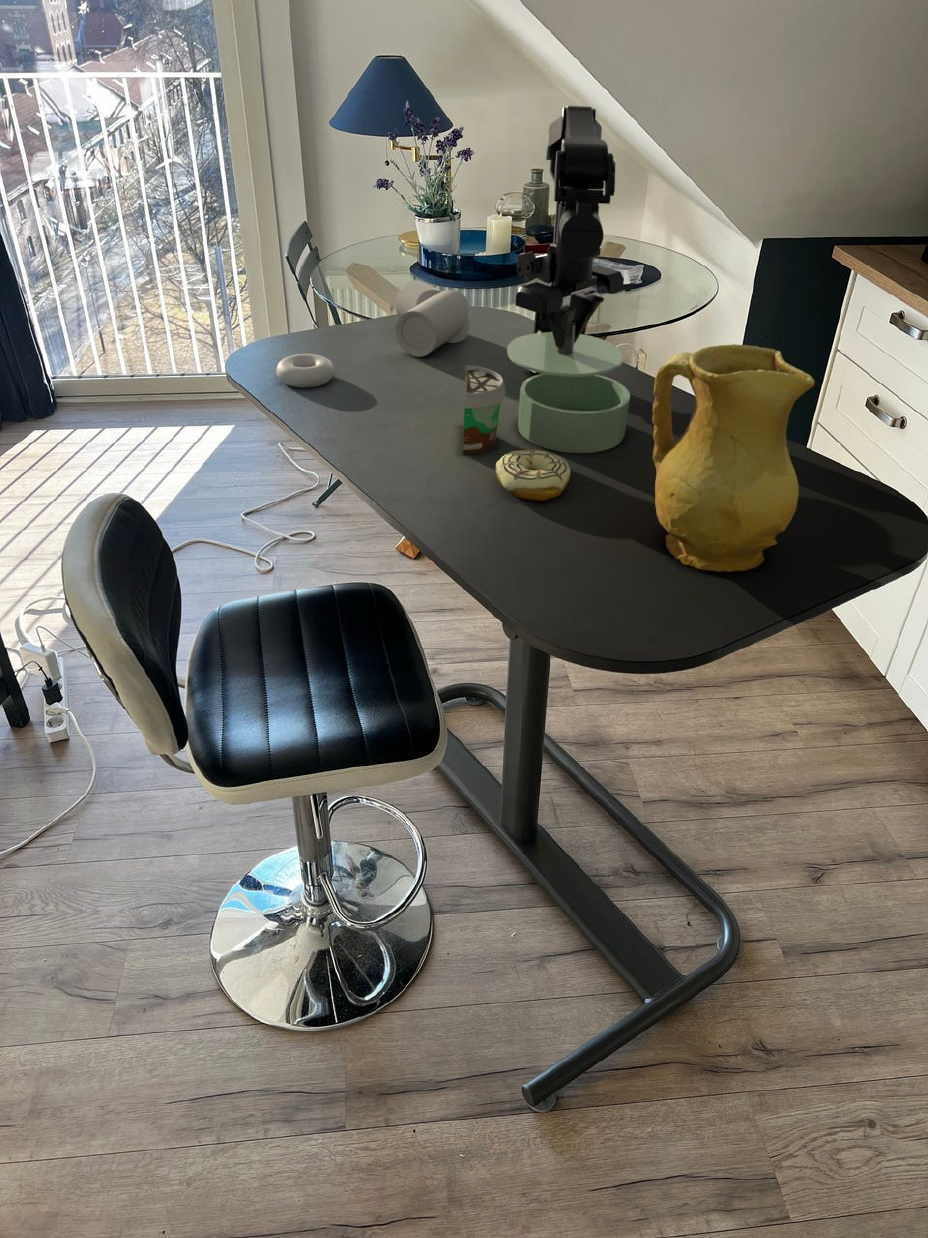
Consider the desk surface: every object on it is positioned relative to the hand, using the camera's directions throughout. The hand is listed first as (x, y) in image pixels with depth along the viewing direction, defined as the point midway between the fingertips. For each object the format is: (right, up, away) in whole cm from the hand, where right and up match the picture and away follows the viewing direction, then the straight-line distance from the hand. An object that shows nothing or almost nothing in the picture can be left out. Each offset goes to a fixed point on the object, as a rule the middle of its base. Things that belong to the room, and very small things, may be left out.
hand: (565, 345), depth 142 cm
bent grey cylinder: (-23, +12, +37) cm, 45 cm away
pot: (+1, -12, +5) cm, 13 cm away
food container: (-13, -15, +1) cm, 20 cm away
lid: (0, -1, +1) cm, 2 cm away
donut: (-43, -1, +19) cm, 47 cm away
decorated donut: (-6, -23, -11) cm, 27 cm away
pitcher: (+16, -33, -22) cm, 43 cm away
